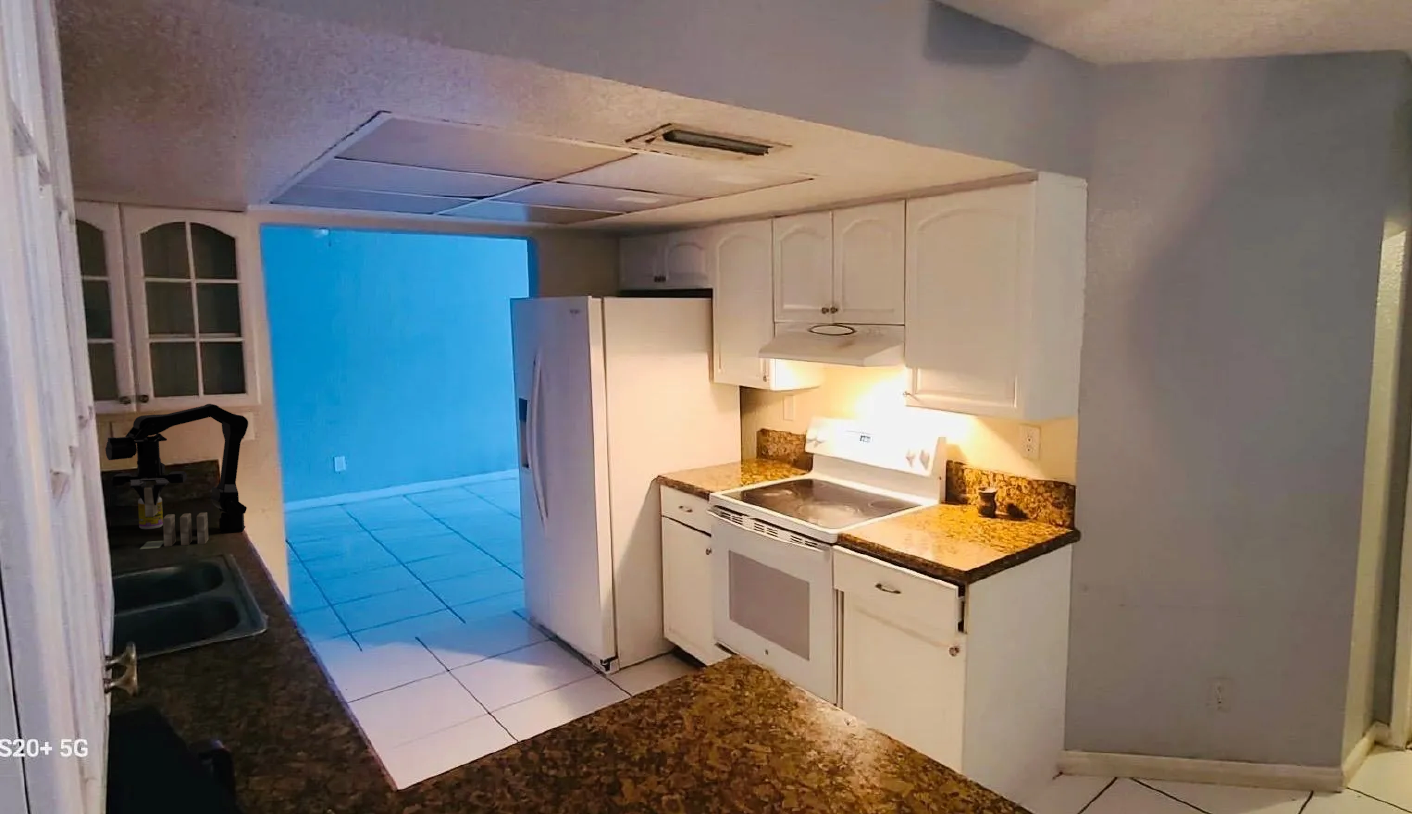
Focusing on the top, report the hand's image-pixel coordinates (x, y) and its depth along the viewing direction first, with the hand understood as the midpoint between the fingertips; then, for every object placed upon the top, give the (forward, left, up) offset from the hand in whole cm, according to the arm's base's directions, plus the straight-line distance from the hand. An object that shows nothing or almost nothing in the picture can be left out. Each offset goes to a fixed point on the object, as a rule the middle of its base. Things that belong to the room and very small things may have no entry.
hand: (151, 505), depth 245 cm
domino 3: (-13, 0, -13) cm, 19 cm away
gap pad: (0, 0, -13) cm, 13 cm away
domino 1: (-4, 0, -13) cm, 14 cm away
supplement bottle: (+6, -24, -13) cm, 28 cm away
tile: (0, 0, -3) cm, 3 cm away
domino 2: (-9, 0, -13) cm, 16 cm away
